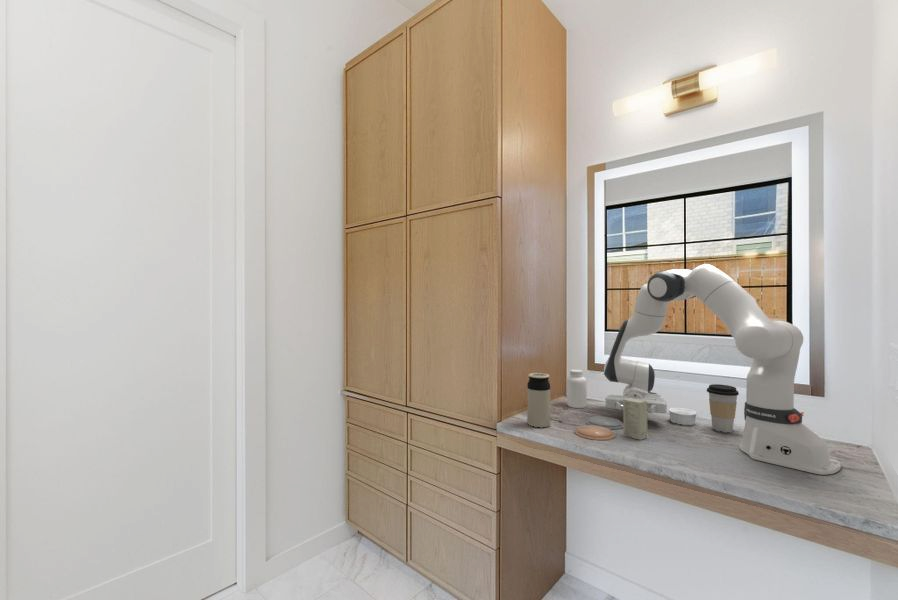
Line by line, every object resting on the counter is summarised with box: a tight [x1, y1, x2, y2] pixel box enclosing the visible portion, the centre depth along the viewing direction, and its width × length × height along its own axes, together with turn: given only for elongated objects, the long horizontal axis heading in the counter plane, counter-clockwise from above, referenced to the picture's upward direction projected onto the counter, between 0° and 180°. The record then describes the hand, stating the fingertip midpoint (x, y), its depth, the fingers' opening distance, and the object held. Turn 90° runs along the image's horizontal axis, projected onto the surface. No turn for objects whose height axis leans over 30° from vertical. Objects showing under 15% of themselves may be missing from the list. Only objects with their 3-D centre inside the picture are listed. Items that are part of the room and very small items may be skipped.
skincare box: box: [622, 398, 648, 441], centre depth 137 cm, size 6×4×12 cm
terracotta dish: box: [573, 424, 616, 441], centre depth 140 cm, size 13×13×1 cm
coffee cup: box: [705, 383, 740, 433], centre depth 144 cm, size 9×9×15 cm
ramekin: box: [668, 407, 697, 426], centre depth 153 cm, size 9×9×4 cm
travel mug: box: [526, 372, 551, 429], centre depth 149 cm, size 8×8×18 cm
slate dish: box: [585, 415, 624, 431], centre depth 151 cm, size 13×13×1 cm
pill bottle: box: [566, 369, 588, 409], centre depth 175 cm, size 8×8×15 cm
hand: (635, 409), depth 145 cm, fingers open, 8 cm apart
